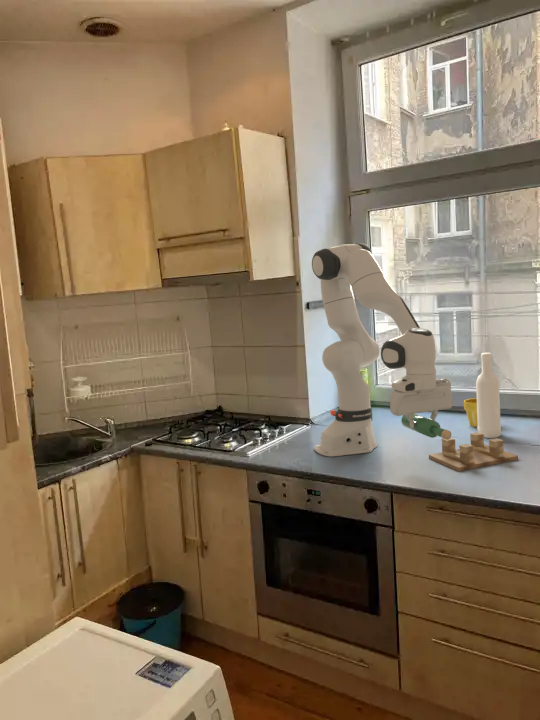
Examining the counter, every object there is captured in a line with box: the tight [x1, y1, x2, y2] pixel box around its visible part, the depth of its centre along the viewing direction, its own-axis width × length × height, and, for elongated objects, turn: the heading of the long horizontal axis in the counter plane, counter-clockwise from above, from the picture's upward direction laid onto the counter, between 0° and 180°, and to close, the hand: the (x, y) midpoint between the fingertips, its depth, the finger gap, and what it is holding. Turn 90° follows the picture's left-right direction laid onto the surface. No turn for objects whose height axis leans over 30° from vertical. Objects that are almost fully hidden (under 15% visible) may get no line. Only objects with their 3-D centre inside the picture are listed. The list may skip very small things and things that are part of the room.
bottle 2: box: [475, 352, 502, 439], centre depth 221 cm, size 8×8×30 cm
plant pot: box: [463, 397, 478, 428], centre depth 238 cm, size 10×10×10 cm
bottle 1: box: [400, 413, 452, 440], centre depth 188 cm, size 21×5×5 cm, turn 19°
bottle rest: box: [428, 431, 519, 472], centre depth 197 cm, size 22×16×6 cm
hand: (422, 425), depth 190 cm, fingers closed on bottle 1, 5 cm apart
